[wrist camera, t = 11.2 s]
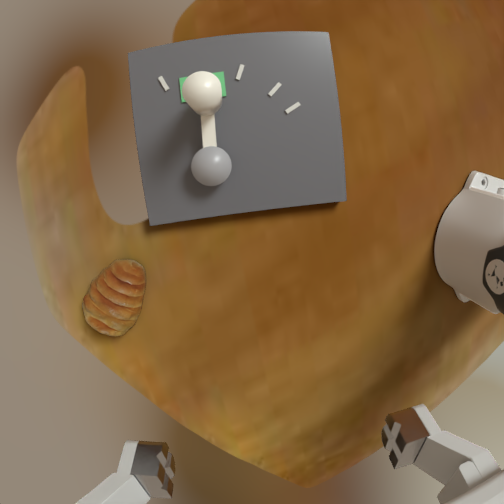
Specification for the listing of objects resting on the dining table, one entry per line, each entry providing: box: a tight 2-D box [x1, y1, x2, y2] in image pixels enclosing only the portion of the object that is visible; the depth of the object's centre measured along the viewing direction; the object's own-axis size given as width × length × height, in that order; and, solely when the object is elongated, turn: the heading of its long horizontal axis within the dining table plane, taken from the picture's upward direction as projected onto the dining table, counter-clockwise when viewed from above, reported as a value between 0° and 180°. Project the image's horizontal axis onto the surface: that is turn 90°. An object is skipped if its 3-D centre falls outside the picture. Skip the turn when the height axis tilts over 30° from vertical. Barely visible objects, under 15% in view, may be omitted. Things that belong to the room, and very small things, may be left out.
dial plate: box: [128, 32, 347, 226], centre depth 28 cm, size 20×18×2 cm
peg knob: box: [182, 71, 232, 186], centre depth 24 cm, size 10×4×7 cm, turn 4°
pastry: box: [82, 259, 146, 336], centre depth 32 cm, size 9×7×4 cm
